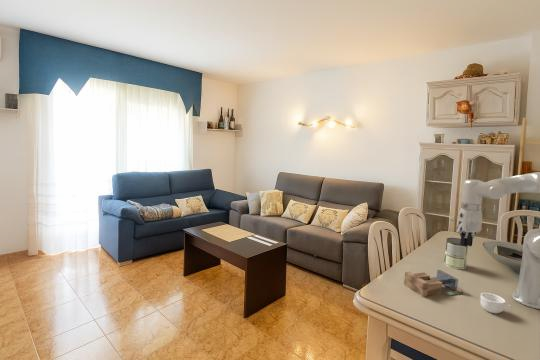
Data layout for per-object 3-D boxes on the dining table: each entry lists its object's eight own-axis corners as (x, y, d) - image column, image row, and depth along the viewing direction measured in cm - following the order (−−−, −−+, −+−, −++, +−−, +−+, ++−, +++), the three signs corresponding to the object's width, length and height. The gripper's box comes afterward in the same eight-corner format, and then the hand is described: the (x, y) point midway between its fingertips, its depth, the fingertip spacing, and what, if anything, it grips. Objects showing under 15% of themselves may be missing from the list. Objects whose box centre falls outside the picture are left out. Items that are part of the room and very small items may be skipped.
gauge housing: (462, 293, 128) (464, 281, 127) (425, 299, 123) (427, 285, 122) (438, 280, 141) (440, 268, 140) (404, 284, 135) (405, 272, 134)
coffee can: (440, 260, 164) (443, 236, 163) (459, 262, 163) (462, 238, 162) (449, 268, 154) (452, 243, 152) (470, 270, 153) (473, 244, 151)
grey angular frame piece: (461, 292, 128) (462, 281, 128) (443, 294, 126) (444, 284, 125) (438, 279, 140) (439, 269, 139) (421, 281, 137) (422, 271, 137)
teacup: (478, 310, 116) (480, 297, 115) (479, 302, 122) (481, 290, 121) (510, 320, 109) (512, 307, 109) (510, 312, 115) (512, 299, 115)
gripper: (464, 209, 127) (459, 249, 129) (492, 208, 131) (486, 247, 133) (449, 205, 134) (445, 243, 136) (476, 204, 138) (471, 241, 141)
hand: (465, 245), depth 135 cm, fingers closed
